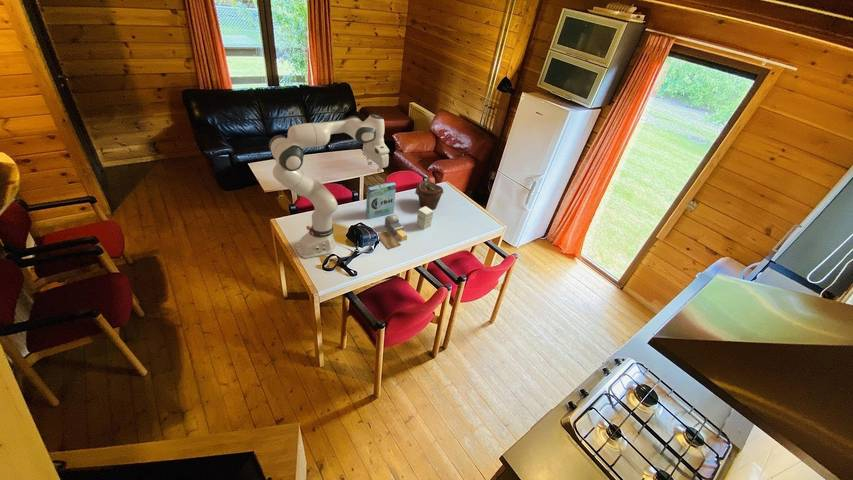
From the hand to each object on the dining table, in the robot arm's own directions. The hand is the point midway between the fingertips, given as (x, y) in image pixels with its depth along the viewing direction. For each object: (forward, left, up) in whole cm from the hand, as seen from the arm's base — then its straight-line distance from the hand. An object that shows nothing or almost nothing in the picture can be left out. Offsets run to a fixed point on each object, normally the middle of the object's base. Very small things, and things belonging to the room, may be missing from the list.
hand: (374, 168), depth 207 cm
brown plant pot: (+52, +10, -46) cm, 70 cm away
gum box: (+15, +15, -46) cm, 51 cm away
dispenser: (+14, -4, -46) cm, 48 cm away
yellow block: (+14, -11, -46) cm, 49 cm away
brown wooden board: (+5, -12, -46) cm, 47 cm away
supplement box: (+35, -9, -46) cm, 58 cm away
